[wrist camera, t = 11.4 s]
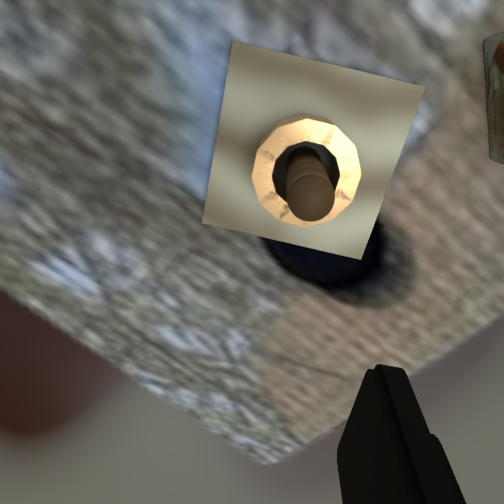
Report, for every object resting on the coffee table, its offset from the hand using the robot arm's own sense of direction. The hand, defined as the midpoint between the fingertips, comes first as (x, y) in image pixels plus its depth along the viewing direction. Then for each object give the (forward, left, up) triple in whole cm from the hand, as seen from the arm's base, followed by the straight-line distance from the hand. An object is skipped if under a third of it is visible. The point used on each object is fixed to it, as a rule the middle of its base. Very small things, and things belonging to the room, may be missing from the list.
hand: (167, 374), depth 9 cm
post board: (-1, +4, -26) cm, 26 cm away
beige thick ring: (-1, +4, -23) cm, 23 cm away
